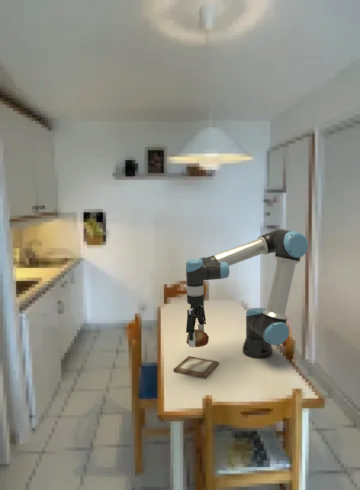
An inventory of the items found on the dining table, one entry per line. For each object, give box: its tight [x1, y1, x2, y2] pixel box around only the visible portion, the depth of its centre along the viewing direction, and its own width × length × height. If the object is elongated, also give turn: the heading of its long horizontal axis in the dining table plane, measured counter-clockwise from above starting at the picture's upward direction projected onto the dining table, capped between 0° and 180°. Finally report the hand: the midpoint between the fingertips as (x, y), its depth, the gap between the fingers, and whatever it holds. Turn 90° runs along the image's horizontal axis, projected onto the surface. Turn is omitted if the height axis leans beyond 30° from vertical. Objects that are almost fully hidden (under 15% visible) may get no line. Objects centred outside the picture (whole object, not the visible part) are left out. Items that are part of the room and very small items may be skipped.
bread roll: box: [185, 328, 210, 348], centre depth 169 cm, size 10×10×8 cm
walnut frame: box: [173, 355, 220, 380], centre depth 177 cm, size 16×16×2 cm
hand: (196, 342), depth 170 cm, fingers closed on bread roll, 10 cm apart
